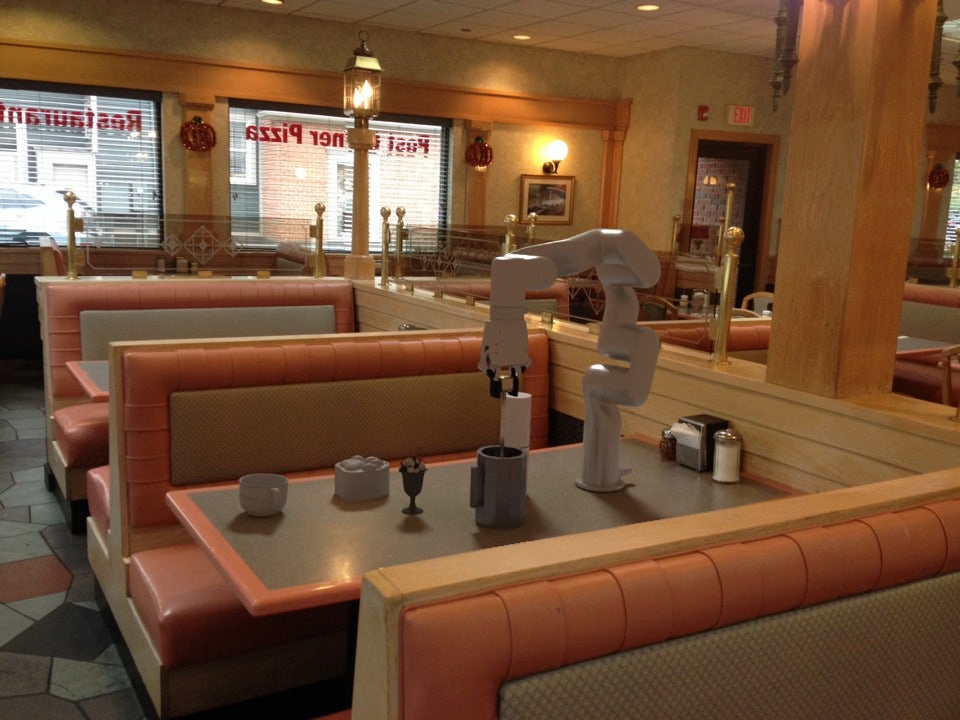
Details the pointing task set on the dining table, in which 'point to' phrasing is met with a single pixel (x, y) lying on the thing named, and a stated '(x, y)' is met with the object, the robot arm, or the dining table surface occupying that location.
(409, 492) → the sundae
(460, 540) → the dining table surface
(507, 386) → the plunger
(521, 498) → the press carafe
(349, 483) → the lumpy-topped squat cylinder
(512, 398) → the cylindrical container
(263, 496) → the teacup
